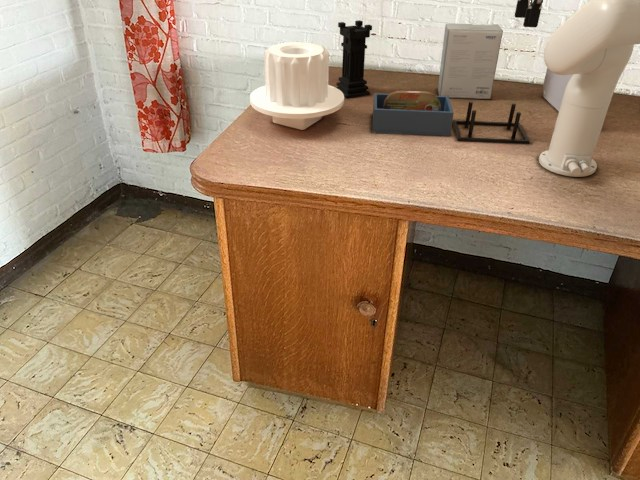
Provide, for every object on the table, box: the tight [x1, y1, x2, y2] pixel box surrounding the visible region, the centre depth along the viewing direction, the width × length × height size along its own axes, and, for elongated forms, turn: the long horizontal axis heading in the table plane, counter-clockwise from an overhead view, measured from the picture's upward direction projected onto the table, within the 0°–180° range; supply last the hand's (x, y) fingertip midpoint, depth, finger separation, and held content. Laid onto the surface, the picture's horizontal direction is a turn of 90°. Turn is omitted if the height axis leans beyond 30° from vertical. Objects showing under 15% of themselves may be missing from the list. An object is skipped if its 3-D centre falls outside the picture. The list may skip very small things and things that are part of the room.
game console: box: [542, 26, 573, 112], centre depth 150 cm, size 6×27×20 cm, turn 2°
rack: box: [452, 101, 530, 145], centre depth 140 cm, size 12×18×7 cm, turn 85°
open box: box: [371, 92, 454, 137], centre depth 144 cm, size 12×20×6 cm, turn 85°
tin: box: [383, 90, 441, 111], centre depth 143 cm, size 15×3×8 cm, turn 85°
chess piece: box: [334, 19, 373, 99], centre depth 161 cm, size 8×8×20 cm
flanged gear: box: [249, 41, 345, 131], centre depth 142 cm, size 25×25×19 cm
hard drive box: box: [437, 23, 504, 100], centre depth 160 cm, size 16×8×20 cm, turn 84°
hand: (525, 22), depth 133 cm, fingers open, 9 cm apart
